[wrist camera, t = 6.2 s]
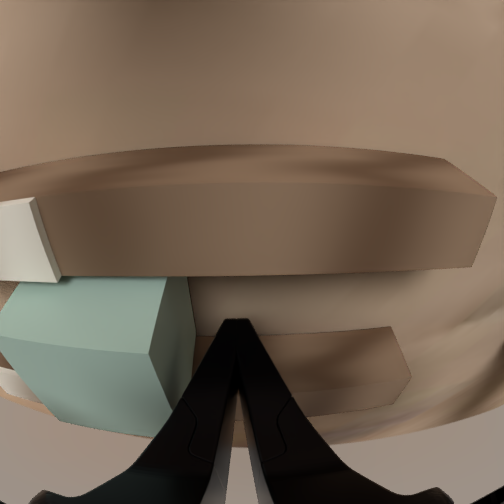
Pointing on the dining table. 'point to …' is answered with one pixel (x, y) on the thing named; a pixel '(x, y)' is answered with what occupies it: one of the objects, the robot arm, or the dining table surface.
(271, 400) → the robot arm
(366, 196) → the chute
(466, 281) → the dining table surface
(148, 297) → the block
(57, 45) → the dining table surface
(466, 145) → the dining table surface
